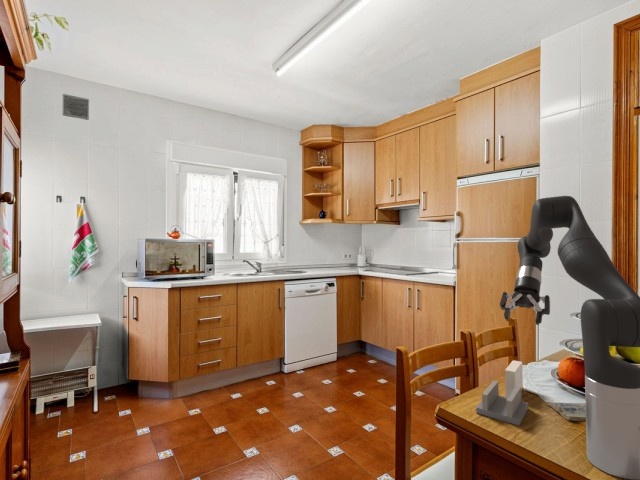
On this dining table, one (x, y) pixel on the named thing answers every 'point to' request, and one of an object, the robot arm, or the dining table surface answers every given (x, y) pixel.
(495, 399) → the grey twin-fin stand
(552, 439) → the dining table surface
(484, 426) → the dining table surface
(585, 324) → the robot arm
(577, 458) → the dining table surface
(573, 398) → the dining table surface
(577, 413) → the ceramic fragment
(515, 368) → the cream rectangular slab
